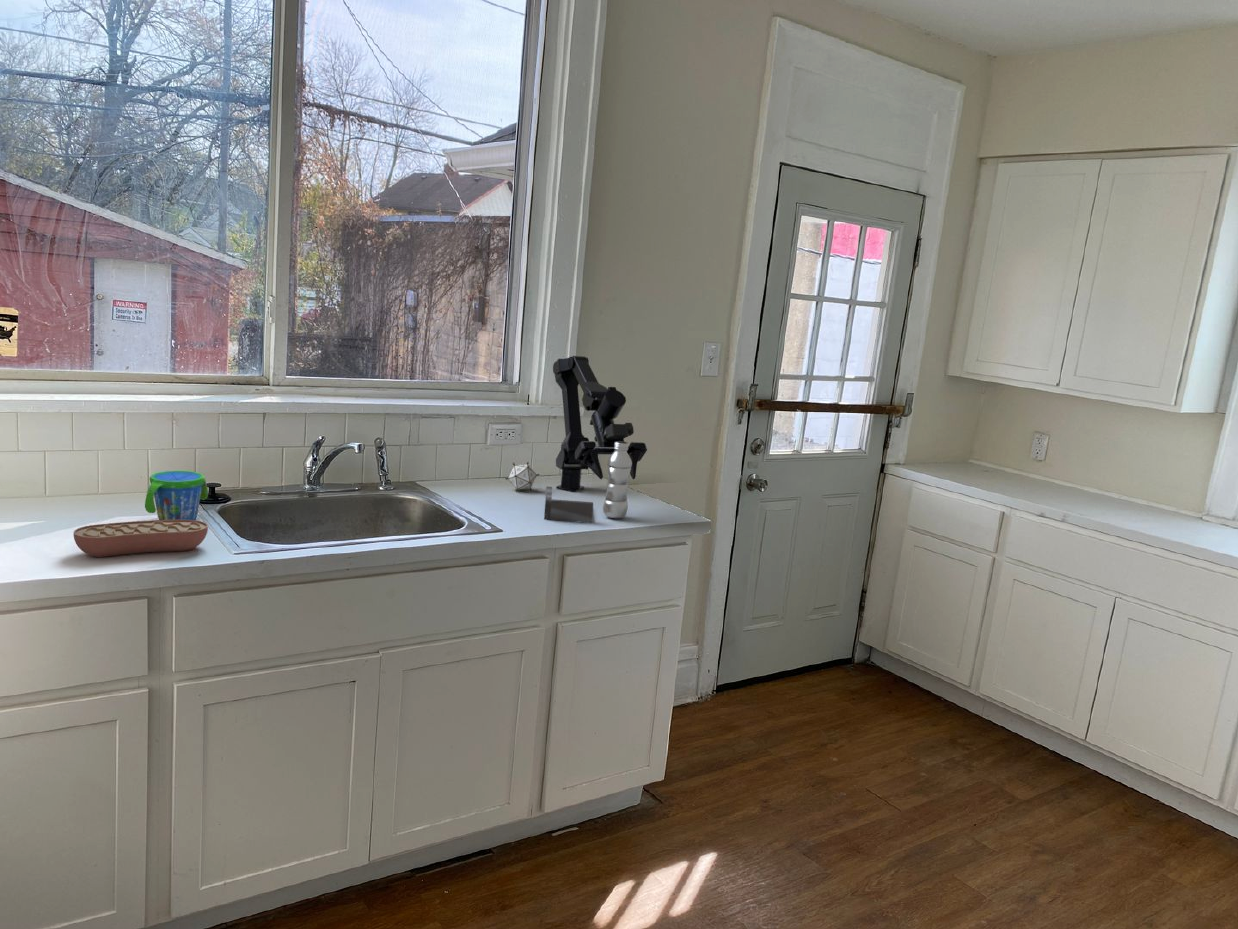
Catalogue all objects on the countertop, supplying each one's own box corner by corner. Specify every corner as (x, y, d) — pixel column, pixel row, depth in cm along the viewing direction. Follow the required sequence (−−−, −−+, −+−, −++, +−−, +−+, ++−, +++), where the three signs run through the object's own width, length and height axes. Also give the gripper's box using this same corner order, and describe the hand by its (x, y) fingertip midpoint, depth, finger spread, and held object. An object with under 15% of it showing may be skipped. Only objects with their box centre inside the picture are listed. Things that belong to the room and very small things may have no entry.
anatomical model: (75, 565, 163) (75, 538, 162) (72, 550, 171) (71, 524, 170) (211, 554, 176) (211, 530, 175) (202, 540, 184) (202, 517, 183)
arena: (545, 504, 241) (546, 486, 240) (589, 507, 242) (591, 489, 241) (544, 519, 225) (545, 500, 224) (591, 522, 226) (593, 503, 225)
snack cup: (163, 532, 186) (163, 485, 185) (128, 523, 190) (127, 476, 189) (224, 518, 201) (224, 474, 199) (189, 510, 205) (190, 466, 203)
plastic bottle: (598, 518, 232) (605, 442, 228) (607, 513, 238) (614, 439, 234) (621, 522, 229) (628, 445, 226) (630, 517, 236) (637, 442, 232)
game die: (514, 503, 255) (494, 474, 252) (527, 488, 262) (508, 460, 259) (536, 493, 250) (516, 464, 247) (549, 478, 256) (530, 450, 254)
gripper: (582, 410, 230) (595, 460, 222) (647, 412, 237) (662, 461, 229) (569, 435, 238) (580, 484, 230) (632, 436, 246) (646, 484, 238)
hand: (618, 478), depth 232 cm, fingers open, 9 cm apart
